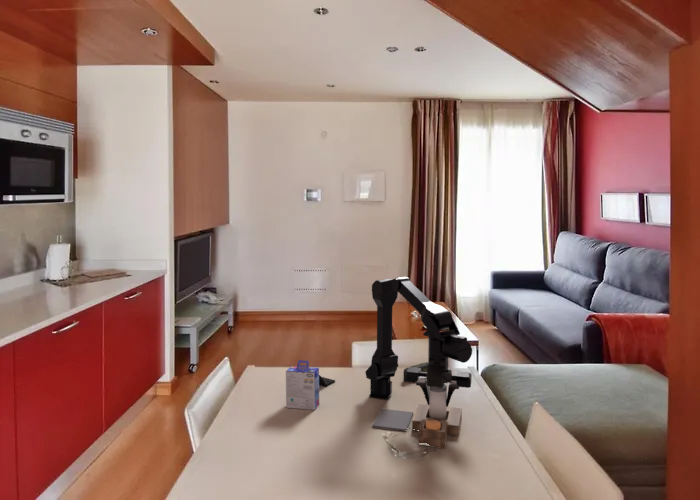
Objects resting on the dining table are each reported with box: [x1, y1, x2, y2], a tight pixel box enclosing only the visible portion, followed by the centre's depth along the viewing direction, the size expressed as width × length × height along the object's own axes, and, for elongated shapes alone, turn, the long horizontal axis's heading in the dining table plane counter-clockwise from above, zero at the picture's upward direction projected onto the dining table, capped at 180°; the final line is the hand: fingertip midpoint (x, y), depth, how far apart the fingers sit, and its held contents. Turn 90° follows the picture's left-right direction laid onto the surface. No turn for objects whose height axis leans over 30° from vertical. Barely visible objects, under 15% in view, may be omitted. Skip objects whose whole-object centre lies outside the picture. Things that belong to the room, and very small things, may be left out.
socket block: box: [411, 403, 463, 449], centre depth 143 cm, size 13×20×4 cm, turn 164°
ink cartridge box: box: [285, 359, 320, 411], centre depth 161 cm, size 10×6×14 cm, turn 79°
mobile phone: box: [403, 362, 428, 383], centre depth 186 cm, size 5×3×15 cm
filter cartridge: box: [429, 383, 448, 420], centre depth 147 cm, size 5×5×10 cm
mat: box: [371, 408, 414, 431], centre depth 150 cm, size 10×12×1 cm
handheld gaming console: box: [319, 374, 336, 388], centre depth 181 cm, size 12×7×10 cm
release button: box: [426, 420, 441, 430], centre depth 137 cm, size 4×4×4 cm
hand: (437, 405), depth 147 cm, fingers closed on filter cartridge, 5 cm apart
